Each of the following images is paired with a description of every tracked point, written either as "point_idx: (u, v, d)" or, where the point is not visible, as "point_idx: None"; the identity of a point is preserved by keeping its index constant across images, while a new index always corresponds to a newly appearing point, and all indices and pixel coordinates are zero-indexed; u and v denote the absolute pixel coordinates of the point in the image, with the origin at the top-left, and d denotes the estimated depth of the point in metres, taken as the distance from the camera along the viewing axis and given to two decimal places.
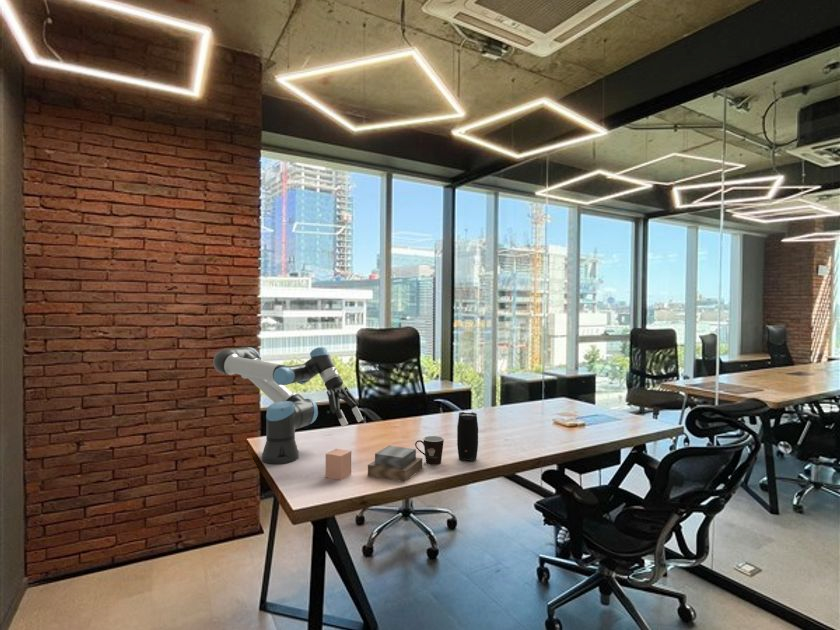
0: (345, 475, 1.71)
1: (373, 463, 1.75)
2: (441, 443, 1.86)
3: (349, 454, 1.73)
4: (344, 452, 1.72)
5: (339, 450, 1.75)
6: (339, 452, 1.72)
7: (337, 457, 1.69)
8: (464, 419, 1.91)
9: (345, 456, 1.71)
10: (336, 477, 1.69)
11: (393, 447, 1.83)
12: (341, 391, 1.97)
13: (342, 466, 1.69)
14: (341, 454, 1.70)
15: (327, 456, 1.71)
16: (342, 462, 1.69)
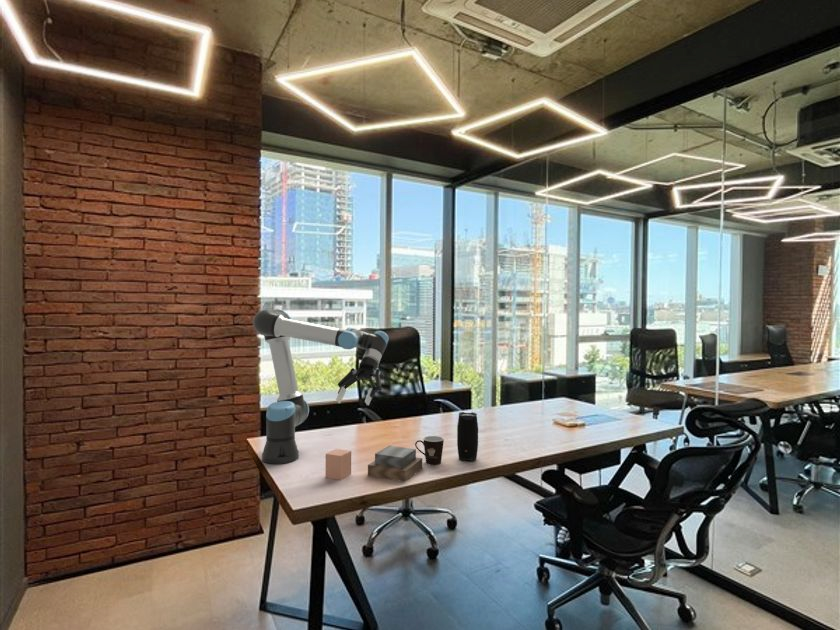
0: (345, 475, 1.71)
1: (373, 463, 1.75)
2: (441, 443, 1.86)
3: (349, 454, 1.73)
4: (344, 452, 1.72)
5: (339, 450, 1.75)
6: (339, 452, 1.72)
7: (336, 457, 1.69)
8: (464, 419, 1.91)
9: (345, 456, 1.71)
10: (336, 477, 1.69)
11: (393, 447, 1.83)
12: None
13: (342, 466, 1.69)
14: (341, 454, 1.70)
15: (327, 456, 1.71)
16: (342, 462, 1.69)
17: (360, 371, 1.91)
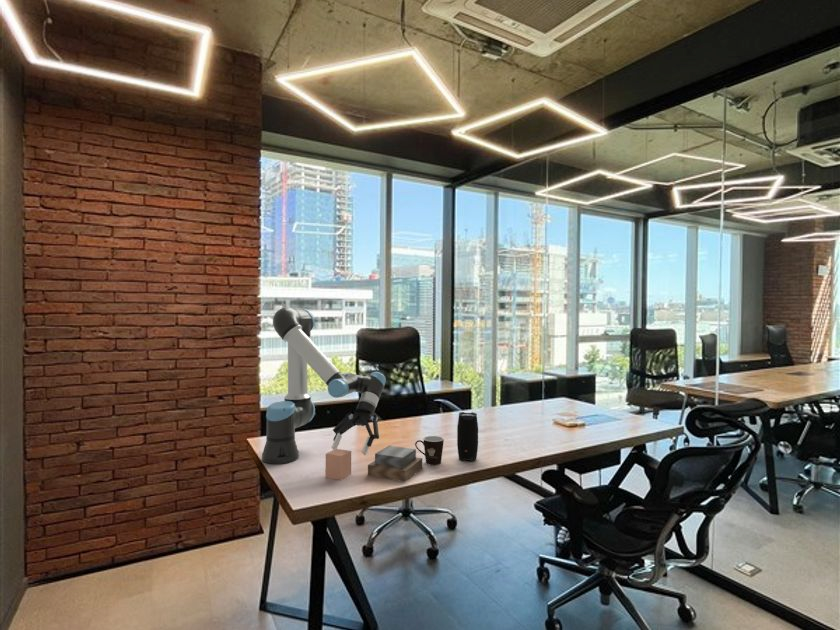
0: (345, 475, 1.71)
1: (373, 463, 1.75)
2: (441, 443, 1.86)
3: (349, 453, 1.73)
4: (344, 452, 1.72)
5: (339, 450, 1.75)
6: (339, 452, 1.72)
7: (337, 457, 1.69)
8: (464, 419, 1.91)
9: (345, 456, 1.71)
10: (336, 477, 1.69)
11: (393, 447, 1.83)
12: None
13: (342, 466, 1.69)
14: (341, 454, 1.70)
15: (327, 456, 1.71)
16: (342, 461, 1.69)
17: (357, 416, 1.84)
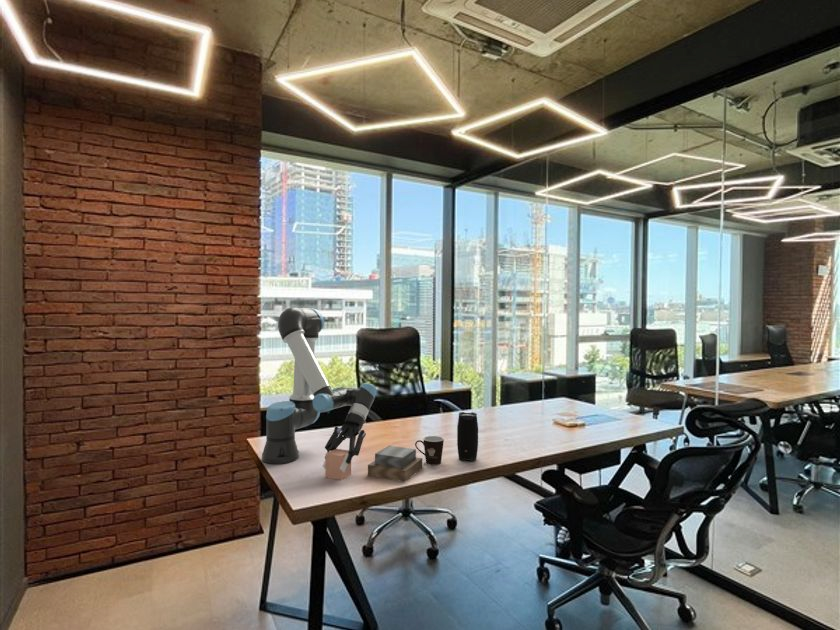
0: (345, 475, 1.71)
1: (373, 463, 1.75)
2: (441, 443, 1.86)
3: None
4: (344, 452, 1.72)
5: (339, 450, 1.75)
6: (339, 452, 1.72)
7: (337, 457, 1.69)
8: (464, 419, 1.91)
9: None
10: (336, 477, 1.69)
11: (393, 447, 1.83)
12: None
13: None
14: (341, 454, 1.70)
15: (327, 456, 1.71)
16: (342, 461, 1.69)
17: (345, 429, 1.79)
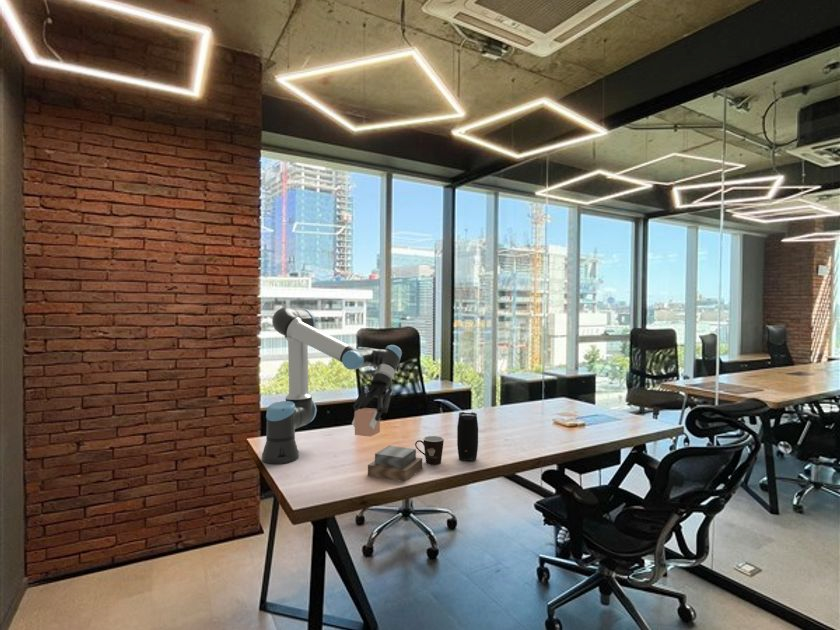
0: (374, 432, 1.72)
1: (373, 463, 1.75)
2: (441, 443, 1.86)
3: None
4: (373, 410, 1.73)
5: (367, 408, 1.76)
6: (367, 410, 1.73)
7: (366, 414, 1.70)
8: (464, 419, 1.91)
9: None
10: (365, 434, 1.70)
11: (393, 447, 1.83)
12: None
13: None
14: (370, 411, 1.71)
15: (356, 413, 1.72)
16: (371, 418, 1.70)
17: (373, 388, 1.80)
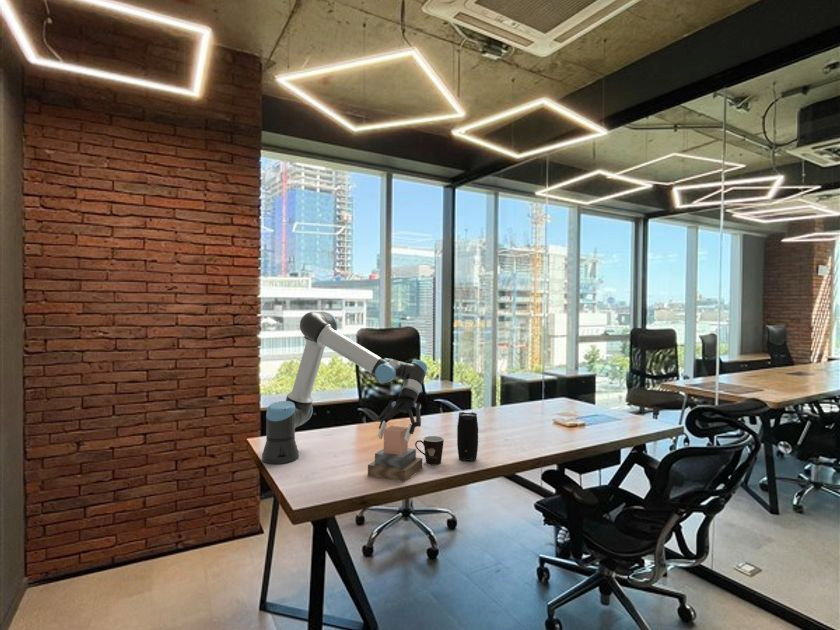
0: (403, 450, 1.76)
1: (373, 463, 1.75)
2: (441, 443, 1.86)
3: (406, 430, 1.78)
4: (401, 429, 1.77)
5: (396, 427, 1.80)
6: (396, 429, 1.77)
7: (395, 433, 1.74)
8: (464, 419, 1.91)
9: (403, 432, 1.76)
10: (395, 452, 1.74)
11: None
12: None
13: (400, 441, 1.74)
14: (399, 430, 1.75)
15: (385, 432, 1.75)
16: (401, 437, 1.74)
17: (400, 403, 1.84)
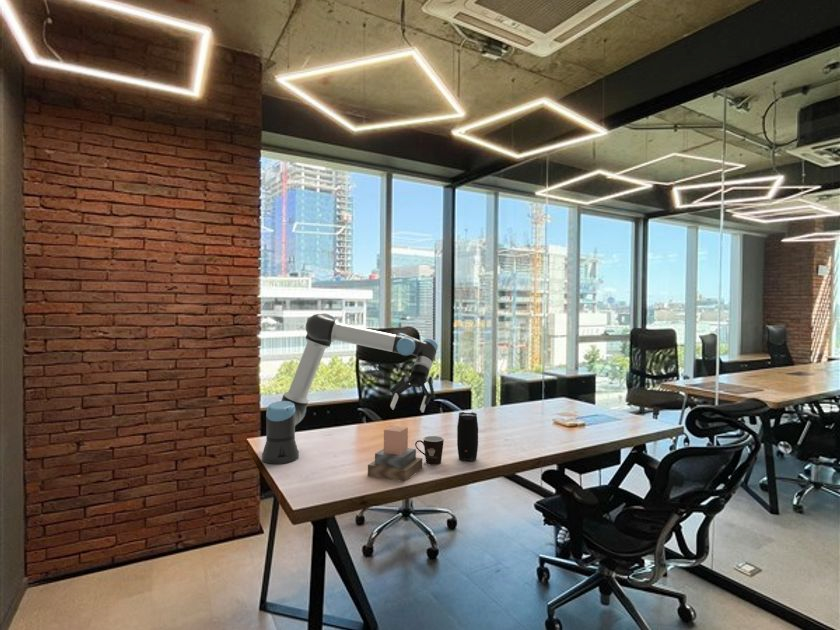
0: (403, 450, 1.76)
1: (373, 463, 1.75)
2: (441, 443, 1.86)
3: (406, 430, 1.78)
4: (401, 429, 1.77)
5: (396, 427, 1.80)
6: (396, 429, 1.77)
7: (395, 433, 1.74)
8: (464, 419, 1.91)
9: (403, 432, 1.76)
10: (395, 452, 1.74)
11: None
12: None
13: (400, 441, 1.74)
14: (399, 430, 1.75)
15: (385, 432, 1.75)
16: (401, 437, 1.74)
17: (413, 378, 1.94)
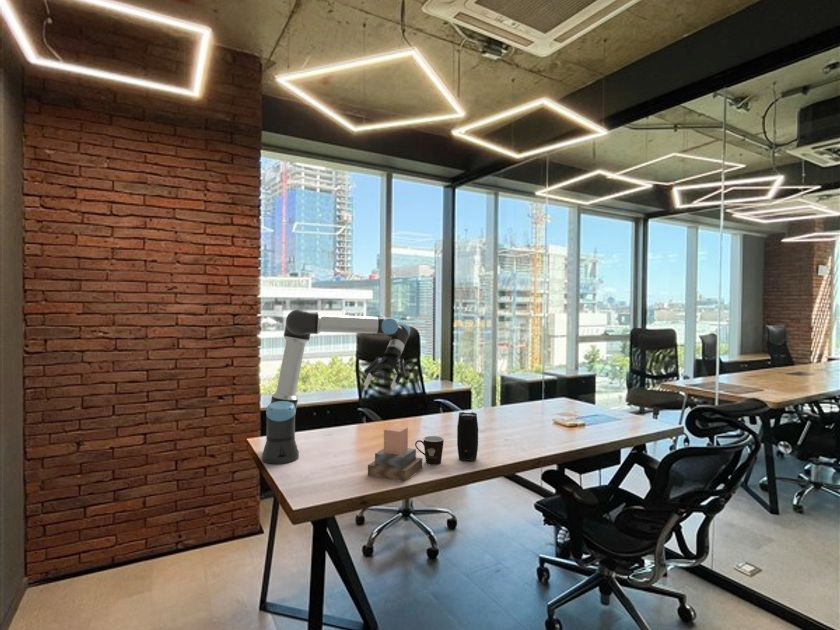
0: (403, 450, 1.76)
1: (373, 463, 1.75)
2: (441, 443, 1.86)
3: (406, 430, 1.78)
4: (401, 429, 1.77)
5: (396, 427, 1.80)
6: (396, 429, 1.77)
7: (395, 433, 1.74)
8: (464, 419, 1.91)
9: (403, 432, 1.76)
10: (395, 452, 1.74)
11: None
12: None
13: (400, 441, 1.74)
14: (399, 430, 1.75)
15: (385, 432, 1.75)
16: (401, 437, 1.74)
17: (385, 359, 2.08)
